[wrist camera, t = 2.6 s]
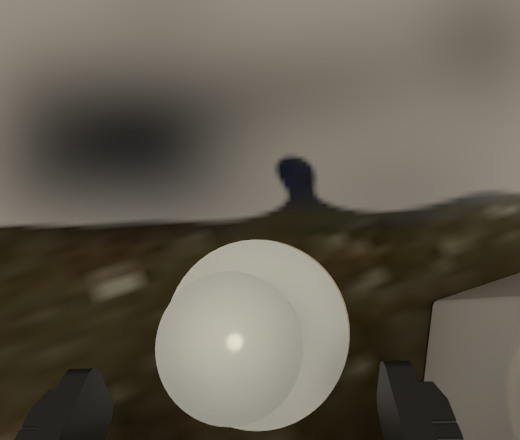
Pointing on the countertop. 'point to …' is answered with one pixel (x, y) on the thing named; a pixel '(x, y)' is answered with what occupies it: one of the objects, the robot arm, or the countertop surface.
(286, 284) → the lid
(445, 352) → the jar
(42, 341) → the countertop surface
